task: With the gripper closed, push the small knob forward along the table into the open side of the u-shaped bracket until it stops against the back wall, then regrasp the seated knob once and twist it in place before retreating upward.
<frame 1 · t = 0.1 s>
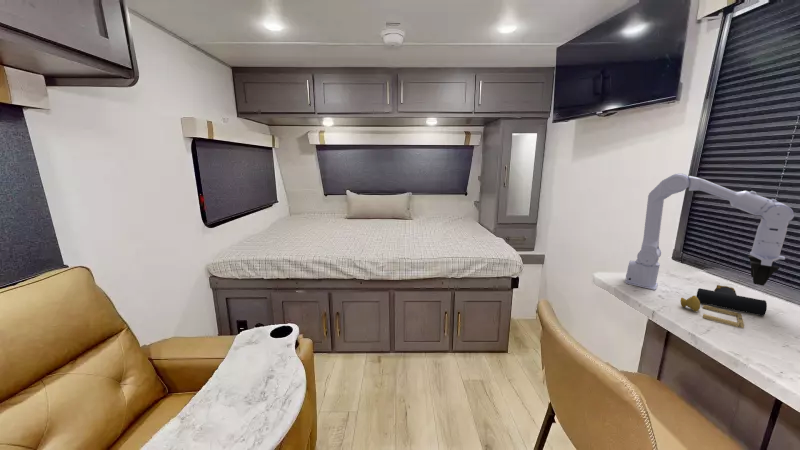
hand: (757, 281, 96), 10 cm above the countertop, tool pointing down, fingers open, 7 cm apart
pipe connector: (725, 305, 102), on the countertop
u-shaped bracket: (719, 316, 94), on the countertop
knob: (688, 309, 99), on the countertop
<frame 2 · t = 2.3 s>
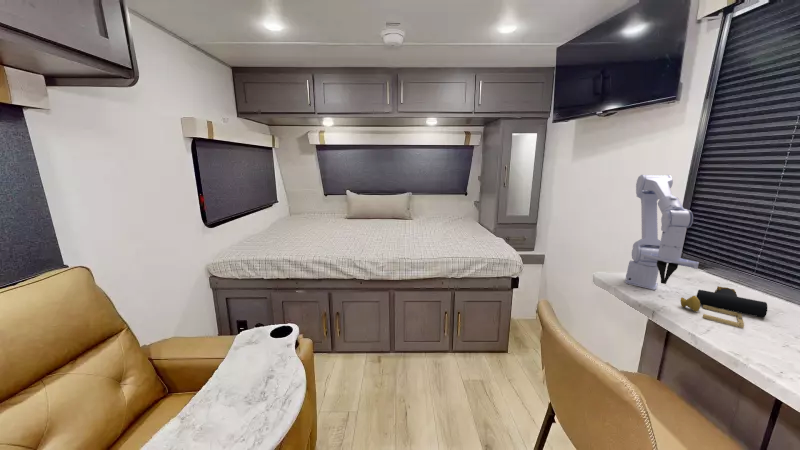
hand: (663, 282, 102), 7 cm above the countertop, tool pointing down, fingers closed
pipe connector: (725, 306, 101), on the countertop
everything else where it was.
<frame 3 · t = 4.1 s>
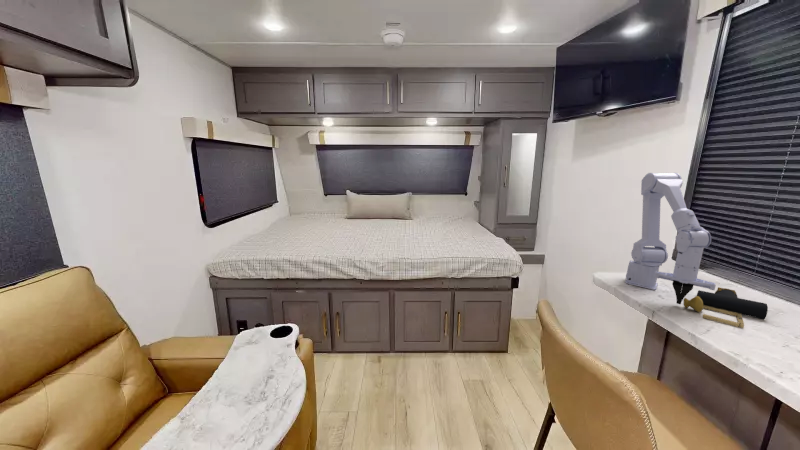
hand: (678, 302, 100), 1 cm above the countertop, tool pointing down, fingers closed
pipe connector: (725, 307, 100), on the countertop
knob: (691, 310, 98), on the countertop, touching gripper
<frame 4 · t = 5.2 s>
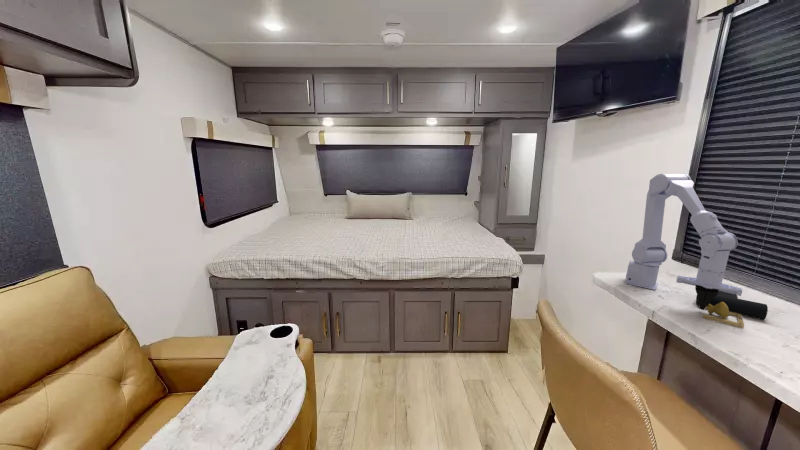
hand: (701, 308, 96), 1 cm above the countertop, tool pointing down, fingers closed
knob: (716, 316, 94), on the countertop, touching gripper
everything else where it was.
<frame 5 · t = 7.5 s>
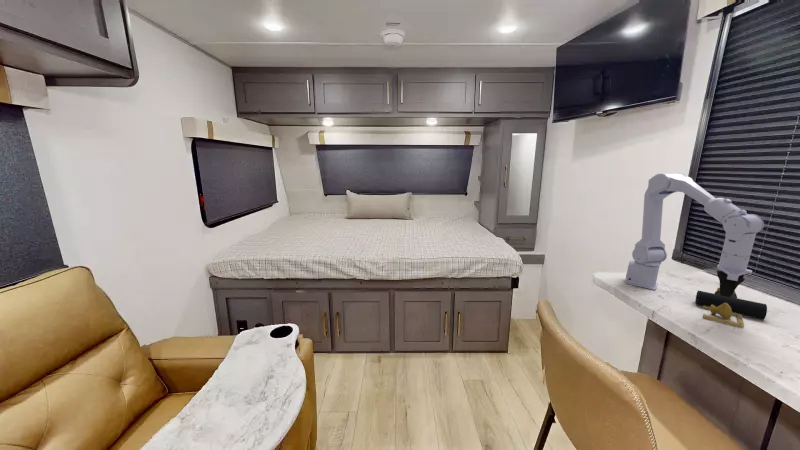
hand: (724, 295, 92), 7 cm above the countertop, tool pointing down, fingers closed
knob: (719, 317, 94), on the countertop
everything else where it was.
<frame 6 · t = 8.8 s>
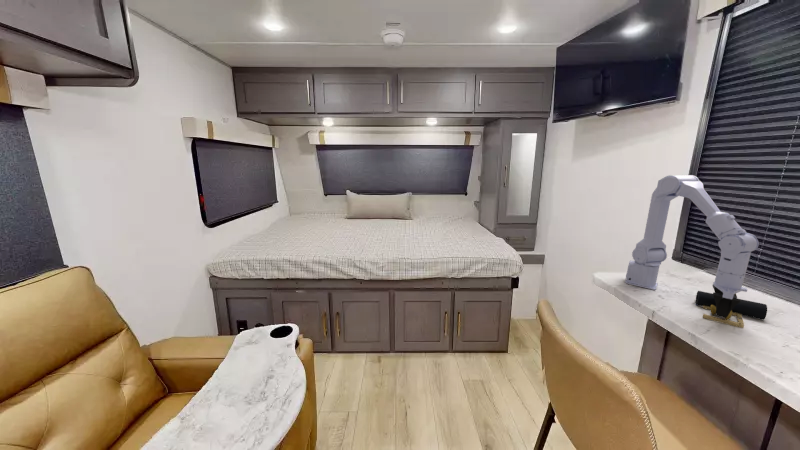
hand: (720, 312, 93), 2 cm above the countertop, tool pointing down, fingers open, 7 cm apart
pipe connector: (725, 308, 100), on the countertop, touching gripper
everything else where it was.
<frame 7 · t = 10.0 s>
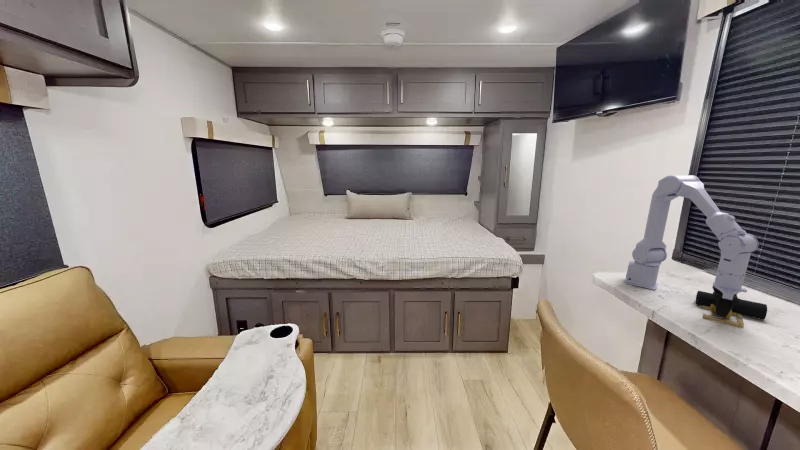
hand: (720, 312, 93), 1 cm above the countertop, tool pointing down, fingers closed on knob, 5 cm apart
pipe connector: (725, 308, 100), on the countertop
knob: (719, 316, 94), on the countertop, touching gripper
when the fingers open (1 cm above the countertop, at t = 11.1 s): knob stays where it is, on the countertop.
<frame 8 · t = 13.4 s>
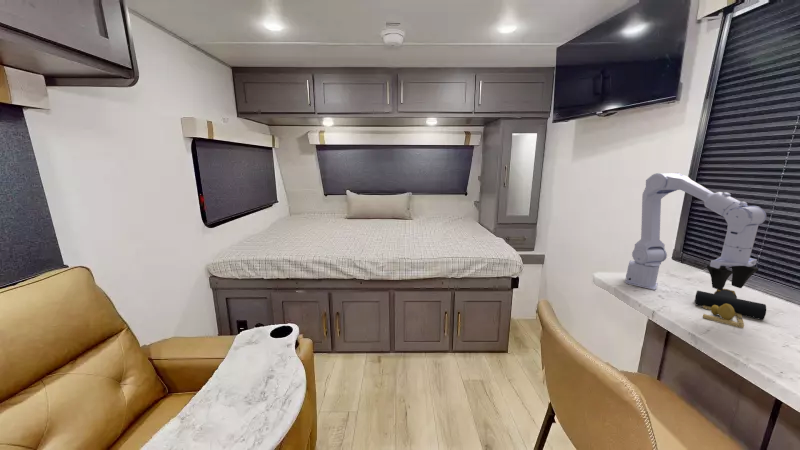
hand: (726, 287, 91), 10 cm above the countertop, tool pointing down, fingers open, 7 cm apart
knob: (720, 317, 93), on the countertop
everything else where it was.
at the end: knob 1.0 cm off-centre on the u-shaped bracket, point 0.0 cm above the u-shaped bracket's base; the gripper is holding nothing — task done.
